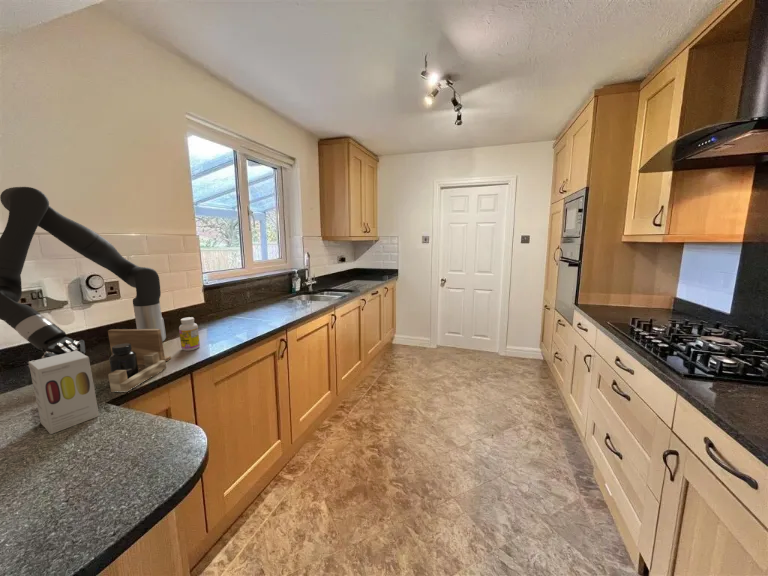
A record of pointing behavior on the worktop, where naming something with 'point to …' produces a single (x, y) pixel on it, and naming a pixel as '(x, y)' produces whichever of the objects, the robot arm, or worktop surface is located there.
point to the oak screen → (139, 342)
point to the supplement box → (64, 390)
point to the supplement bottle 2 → (189, 334)
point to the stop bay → (124, 384)
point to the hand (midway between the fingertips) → (86, 367)
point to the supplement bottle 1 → (124, 359)
